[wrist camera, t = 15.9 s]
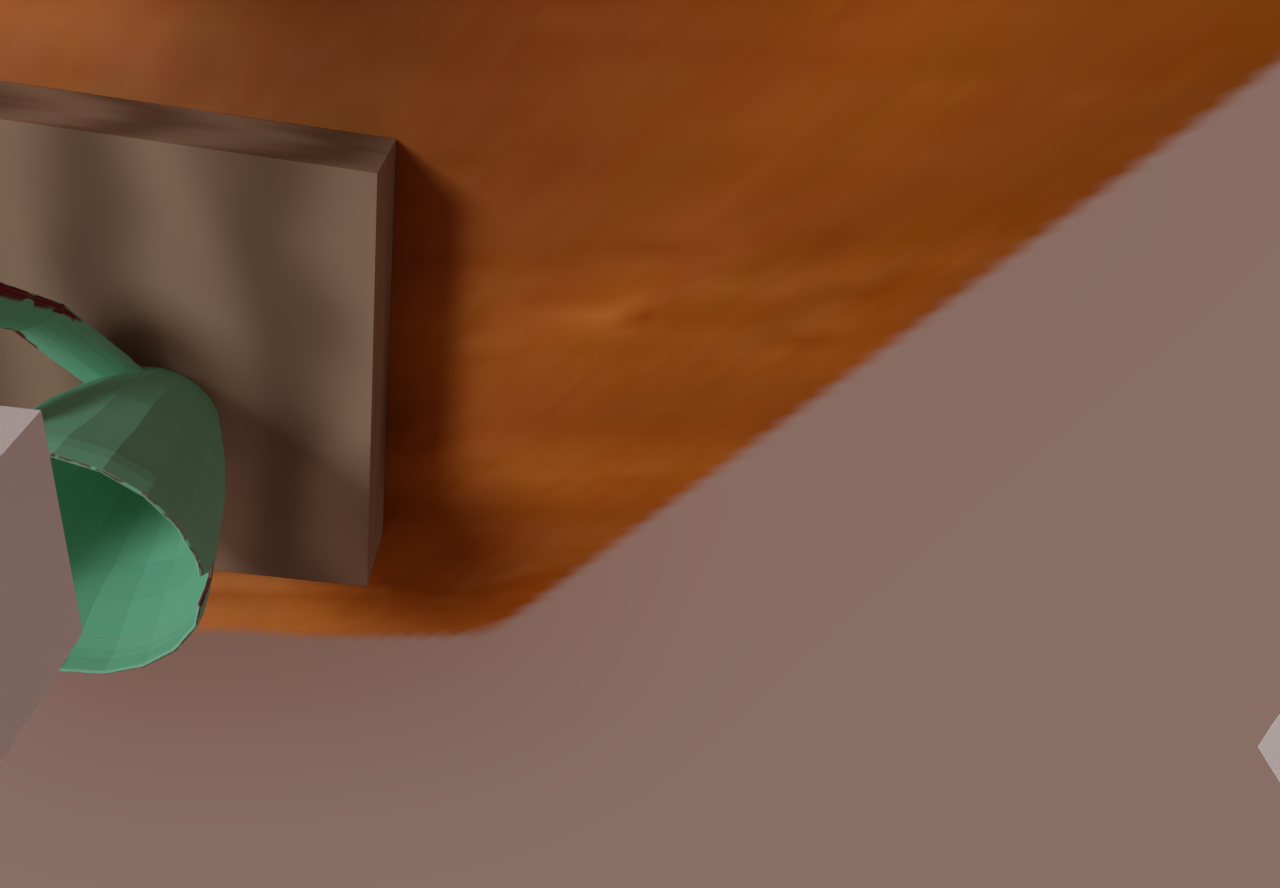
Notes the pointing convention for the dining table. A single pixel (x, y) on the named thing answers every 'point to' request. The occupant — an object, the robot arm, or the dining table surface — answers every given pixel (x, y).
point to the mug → (127, 488)
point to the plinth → (221, 297)
